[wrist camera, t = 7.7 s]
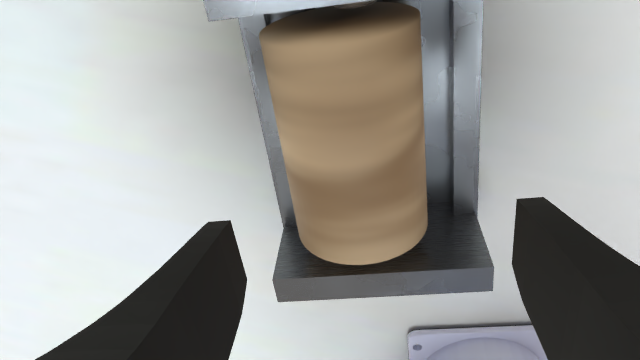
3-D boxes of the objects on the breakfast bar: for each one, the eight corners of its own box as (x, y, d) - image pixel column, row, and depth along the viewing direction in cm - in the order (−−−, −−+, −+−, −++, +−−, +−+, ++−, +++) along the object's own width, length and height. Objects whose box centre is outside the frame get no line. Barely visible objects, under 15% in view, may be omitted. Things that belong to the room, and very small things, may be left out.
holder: (472, 222, 24) (499, 305, 19) (290, 234, 25) (274, 316, 21) (479, -109, 17) (525, -104, 12) (226, -70, 18) (179, -52, 13)
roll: (430, 187, 22) (424, 268, 17) (315, 187, 23) (283, 261, 19) (424, -4, 18) (414, 39, 13) (284, 9, 19) (235, 53, 15)
